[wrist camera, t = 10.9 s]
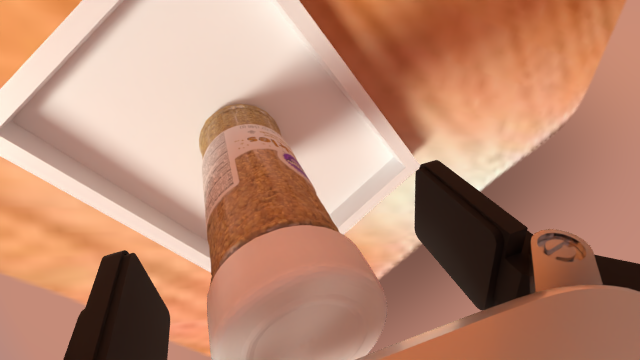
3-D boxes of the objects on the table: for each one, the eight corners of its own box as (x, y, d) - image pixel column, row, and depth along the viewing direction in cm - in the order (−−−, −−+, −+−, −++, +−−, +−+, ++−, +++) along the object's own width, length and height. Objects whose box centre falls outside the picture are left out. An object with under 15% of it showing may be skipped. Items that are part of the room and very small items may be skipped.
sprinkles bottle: (294, 125, 20) (426, 298, 9) (254, 188, 21) (328, 411, 10) (222, 84, 18) (281, 248, 7) (181, 156, 19) (172, 402, 8)
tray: (403, 152, 24) (420, 166, 22) (260, 281, 26) (266, 303, 24) (201, -116, 14) (202, -131, 13) (-14, 116, 16) (-41, 133, 14)
